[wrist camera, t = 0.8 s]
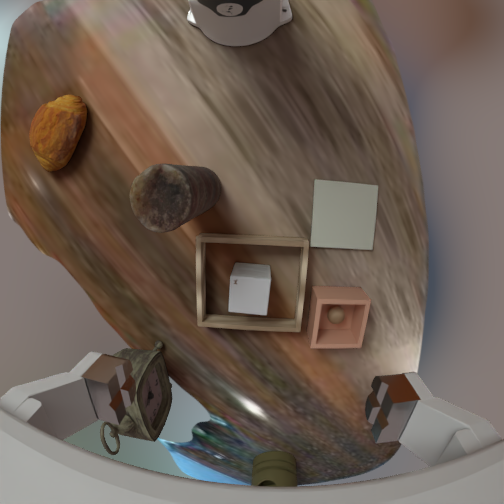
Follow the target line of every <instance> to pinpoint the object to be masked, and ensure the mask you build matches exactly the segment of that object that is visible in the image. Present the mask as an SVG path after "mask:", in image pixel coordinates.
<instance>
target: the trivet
mask: <svg viewBox="0 0 504 504" xmlns="http://www.w3.org/2000/svg"><path fill="white" fill-rule="evenodd" d="M377 198H378V186H377V185H368V184H359V183H350V182H339V181H328V180H316V179H314V194H313V211H312V226H311V239H310V247H327V248H346V249H364V250H372V249H373V241H374V231H375V222H376V211H377Z"/></svg>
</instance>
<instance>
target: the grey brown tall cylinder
mask: <svg viewBox="0 0 504 504" xmlns="http://www.w3.org/2000/svg"><path fill="white" fill-rule="evenodd" d="M220 191H221V186H220V182H219V179H218V177H217V175H216V174H215V173H214V172H213V171H212V170H210V169H208V168H204V167H197V166H182V165H172V164H156V165H153V166H150V167H149V168H147V169H146V170H145V171H143V172H142V173H141V174H140V175H138V176H137V177H136V178H135V179H134V181H133V183H132V186H131V191H130V201H131V206H132V209H133V212H134V213H135V216H136V217H137V218H138V219H139V220H140V222H141V223H142V224H143V225H144V226H145V227H146V228H147V229H149V230H151V231H154V232H161V233H162V232H168V231H172V230H175V229H177V228H178V227H180V226H181V225H183V224H185V223H186V222H188V221H189V220H191V219H193V218H195V217H196V216H198V215H200V214H202V213H204V212H205V211H207V210H209V209H210V208H211V207H213V206H214V205H215V204H216V202H217V201H218V199H219V196H220Z"/></svg>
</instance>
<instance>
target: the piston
mask: <svg viewBox="0 0 504 504" xmlns="http://www.w3.org/2000/svg"><path fill="white" fill-rule="evenodd" d="M296 476H297V473H296V459H295V458H294V456H292V455H291V454H289V453H286V452H281V451H270V452H265V453H262V454H259V455H258V456H256V457H255V458H254V460H253V471H252V484H251V486H270V487H297V477H296Z"/></svg>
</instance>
